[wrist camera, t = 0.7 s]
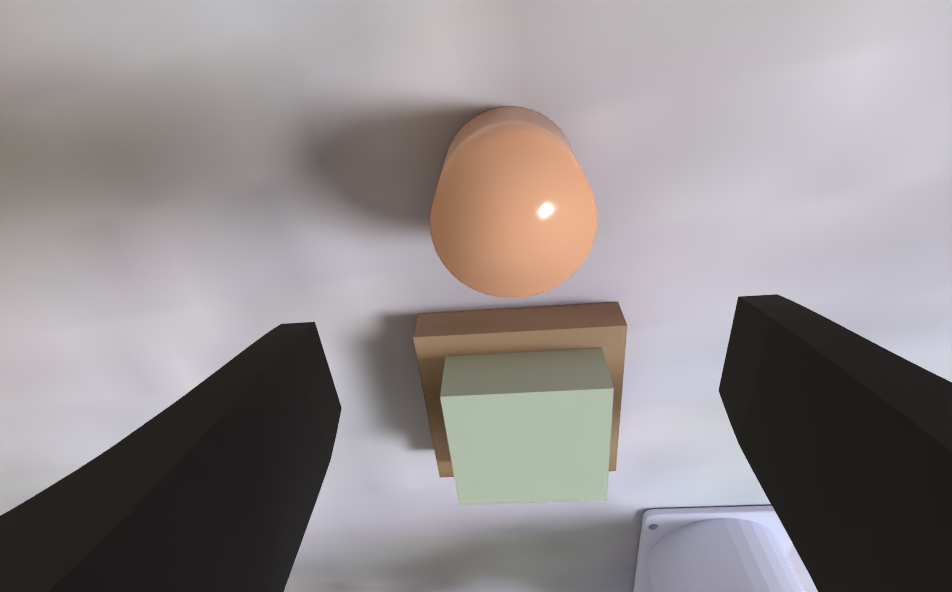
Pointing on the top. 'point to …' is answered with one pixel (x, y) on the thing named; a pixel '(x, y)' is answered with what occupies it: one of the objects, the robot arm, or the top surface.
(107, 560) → the robot arm
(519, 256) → the terracotta cylinder
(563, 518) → the top surface
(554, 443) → the tower top
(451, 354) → the tower base
